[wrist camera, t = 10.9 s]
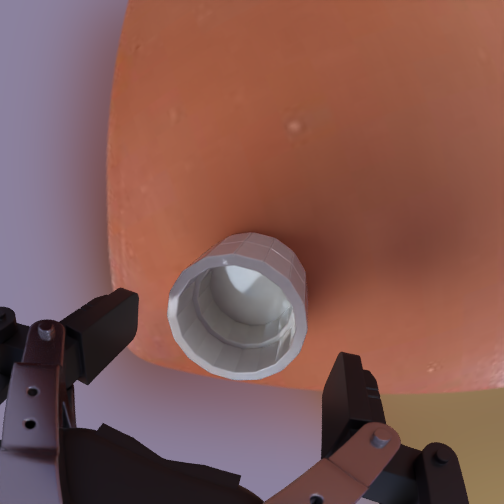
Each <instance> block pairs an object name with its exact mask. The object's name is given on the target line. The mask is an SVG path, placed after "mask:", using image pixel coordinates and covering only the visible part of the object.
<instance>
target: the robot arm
mask: <svg viewBox="0 0 504 504" xmlns="http://www.w3.org/2000/svg"><path fill="white" fill-rule="evenodd" d="M138 304H139V297H138V294H137V293H135V292H132V291H129V290H126V289H124V288H118V289H117V290H115V291H114V292H112V293H111V294H109V295H104V296H100V297H97V298H94V299H93V300H91V301H90V302H88V303H87V305H86V304H85V305H84V306H82V307H81V309H78V310H77V311H75V312H73V313H72V314H70V315H69V316H67V317H66V318H64V319H63V320H61V321H60V322H57V321H54V320H40V321H37V322H35V323H34V324H32V325H31V326H30V327H29V326H26V325H22V324H19V323H16V317H15V313H14V311H13V310H11V309H10V308H6V307H0V404H1V403H2V402H4V400H6V399H7V401H6V408H5V415H4V422H3V432H2V440H0V504H356V503H357V501H358V500H359V499H360V498H361V497H363V498H366V499H369V500H372V501H375V502H378V503H379V504H469V501H468V497H467V493H466V488H465V484H464V480H463V476H462V472H461V469H460V465H459V461H458V458H457V456H456V454H455V452H454V451H453V450H452V449H451V448H450V447H449V446H447V445H445V444H442V443H437V442H434V443H430V444H428V445H427V446H426V447H425V448H424V449H423V450H422V451H420V450H417V449H414V448H410V447H408V446H405V445H402V444H401V440H400V437H399V435H398V433H397V432H396V431H395V430H394V429H393V428H391V427H390V426H388V425H386V421H385V416H384V412H383V407H382V403H381V399H380V394H379V391H378V385H377V381H376V379H375V378H374V376H373V375H372V374H371V372H370V371H368V370H363V368H362V363H361V358H360V356H359V355H354V354H349V353H345V352H340V353H339V354H338V356H337V359H336V361H335V363H334V366H333V368H332V370H331V372H330V375H329V377H328V379H327V381H326V384H325V387H324V390H323V395H322V449H321V460H320V461H319V462H317V463H316V464H315V465H314V466H312V467H311V468H310V469H309V470H308V471H306V472H305V473H304V474H303V475H301V476H300V477H299V478H297V479H296V480H295V481H293V482H292V483H291V484H289V485H288V486H286V487H285V488H284V489H282V490H281V491H280V492H278V493H277V494H275V495H274V496H272V497H271V498H269V499H268V500H267V501H265V502H264V501H263V500H261V499H260V498H259V497H258V496H256V495H255V494H254V493H252V492H251V491H249V490H248V489H246V488H244V487H242V486H240V485H239V481H240V478H241V475H237V474H233V473H229V472H226V471H222V470H219V469H215V468H212V467H209V466H206V465H200V464H192V463H184V462H178V461H171V460H166V459H164V458H161V457H160V456H158V455H157V454H156V453H154V452H153V451H151V450H150V449H148V448H147V447H145V446H144V445H143V444H141V443H140V442H138V441H137V440H136V439H134V438H133V437H130V436H128V435H126V434H124V433H122V432H120V431H118V430H116V429H114V428H112V427H110V426H108V425H106V424H104V423H103V424H102V425H101V427H99V429H98V430H97V431H96V430H92V429H86V428H77V427H76V417H75V398H74V385H73V383H74V382H75V381H76V380H79V381H81V382H82V383H84V384H86V385H89V384H90V383H91V382H92V381H93V379H94V378H95V377H96V376H97V375H98V374H99V373H100V372H101V371H102V370H103V369H104V368H105V367H106V366H107V365H108V364H109V363H110V362H111V361H112V360H113V359H114V358H115V357H116V356H117V355H118V354H119V353H120V352H121V351H122V350H123V349H124V348H125V347H126V346H127V345H128V344H129V343H130V342H131V341H132V340H133V339H134V337H135V335H136V332H137V326H138Z"/></svg>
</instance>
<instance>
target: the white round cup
mask: <svg viewBox="0 0 504 504" xmlns="http://www.w3.org/2000/svg"><path fill="white" fill-rule="evenodd" d="M167 315H168V316H167V317H168V321H169V324H170V327H171V330H172V334H173V337H174V338H175V341H176V342H177V343H178V345H179V346H180V347H181V349H182V350H183V351H184V353H185V354H186V355H187V356H188V358H190V360H192V361H193V362H195V363H196V364H198V365H199V366H201V367H202V368H204V369H205V370H206V371H208V372H210V373H212V374H215V375H218V376H222V377H225V378H228V379H232V380H234V379H235V380H259V379H262V378H265V377H268V376H270V375H273V374H275V373H278V372H280V371H282V370H283V369H284V368H285V367H286V366H287V365H288V364H289V363H290V362H291V361H292V360H293V359H294V358H295V357H296V356H297V355H298V354H299V353H300V351H301V348H302V345H303V342H304V340H305V337H306V334H307V329H308V286H307V278H306V272H305V269H304V268H303V266H302V264H301V263H300V261H299V259H298V258H297V256H296V254H295V253H294V252H293V251H292V250H291V249H290V248H288V247H287V246H286V245H284V244H283V243H282V242H280V241H279V240H278V239H276V238H274V237H270V236H266V235H262V234H258V233H254V232H253V233H252V232H249V233H242V234H235V235H231V236H228V237H226V238H225V239H223V240H221V241H220V242H218V243H217V244H215V245H213V246H212V247H211V248H210V249H208V250H207V251H206V252H205V253H204V254H202V255H201V256H200V257H199V258H198V259H196V260H195V261H194V262H193V263H192V264H190V265H189V266H188V267H187V268H186V269H184V270H183V271H182V273H181V274H180V276H179V277H178V279H177V280H176V282H175V284H174V285H173V287H172V289H171V290H170V293H169V302H168V311H167Z"/></svg>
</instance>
